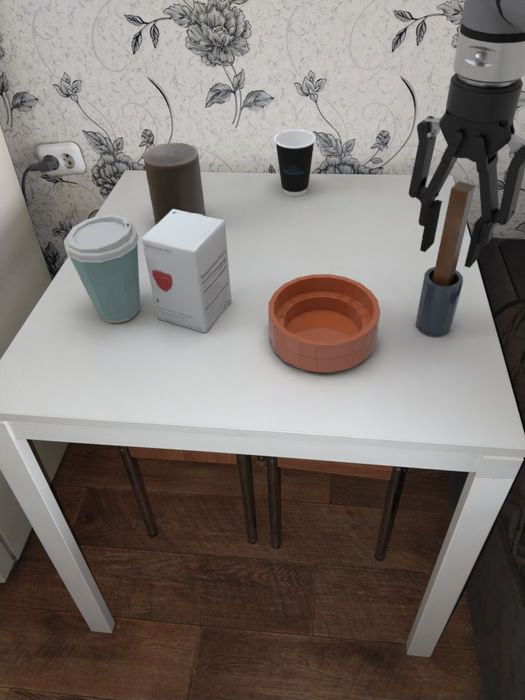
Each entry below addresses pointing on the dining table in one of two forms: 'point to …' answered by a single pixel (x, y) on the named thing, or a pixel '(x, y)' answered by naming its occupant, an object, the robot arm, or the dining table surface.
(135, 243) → the disposable coffee cup
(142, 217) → the dining table surface
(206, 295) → the rectangular carton
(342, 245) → the dining table surface
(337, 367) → the bowl
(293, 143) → the dixie cup
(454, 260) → the stirring stick
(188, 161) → the pillar candle
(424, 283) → the gray pipe section
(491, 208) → the robot arm
